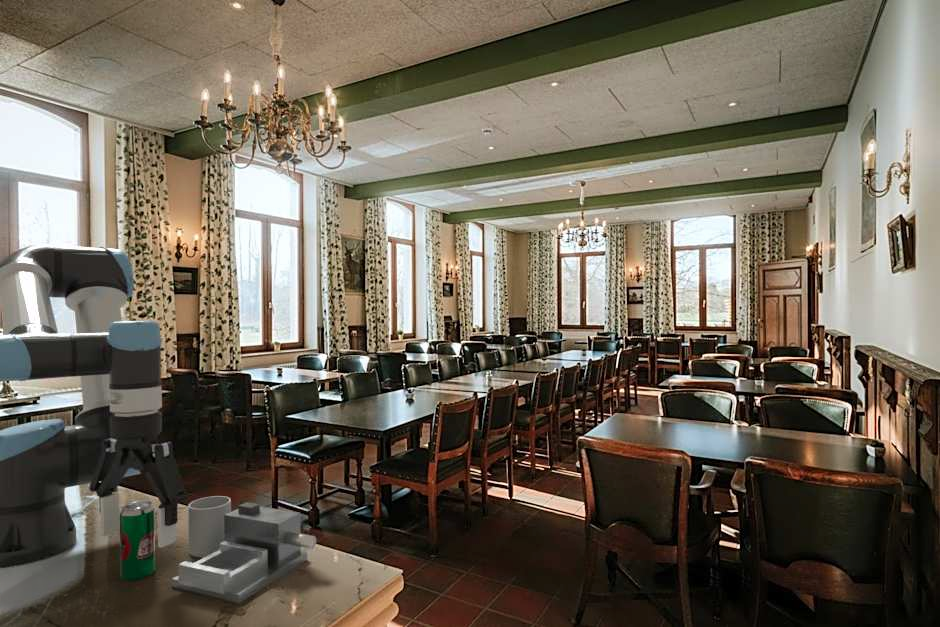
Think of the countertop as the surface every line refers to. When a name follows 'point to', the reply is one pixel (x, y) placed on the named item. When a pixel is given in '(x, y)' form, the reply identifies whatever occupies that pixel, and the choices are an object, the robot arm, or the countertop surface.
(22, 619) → the countertop surface
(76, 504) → the countertop surface
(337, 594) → the countertop surface
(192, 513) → the cup
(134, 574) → the soda can
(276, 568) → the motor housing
